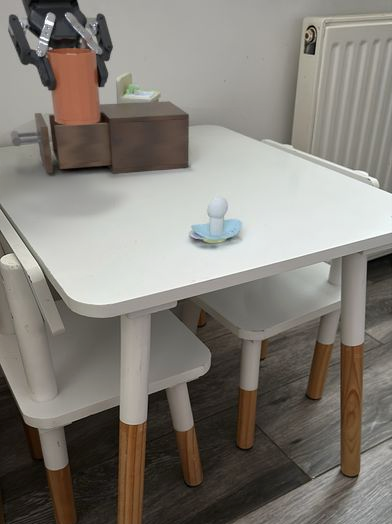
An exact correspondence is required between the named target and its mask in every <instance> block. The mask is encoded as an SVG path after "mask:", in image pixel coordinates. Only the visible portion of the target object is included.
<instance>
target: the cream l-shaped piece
mask: <svg viewBox="0 0 392 524" xmlns="http://www.w3.org/2000/svg"><path fill="white" fill-rule="evenodd" d="M115 89H116V91H115V92H116V104H121V103H143V102H160V101H159V100H160V98H161V95H162V94H161V93H162V92H160V91H157V90H153V89H152V90H151V89H150V90H143V89H141V88H140V85H139V84H133V76H132V73H131V72H124V73H123V74H120V75H119V76H117V77H116V79H115Z"/></svg>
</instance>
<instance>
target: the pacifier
mask: <svg viewBox="0 0 392 524" xmlns="http://www.w3.org/2000/svg"><path fill="white" fill-rule="evenodd" d="M207 205H208V206H207V208H206V214H207V216H208V217H209V222H208V223H201V224H191V226H190V227H191V230H190V231H189V232H188V236H190V238H193V239H196V240H202V241H203V242H205V243H209V244H219V243H222V242H225V241H227V239H229V238H232V237H235V236H236V235H237V234H239V233H240V232H241V230H242V227H243V222H242V221H241V219H237V218H229V219H225V215H226V214H227V213H228V209H229V204H228V200H227V199H226V198H225V197H223V196H217V197H215V198H213V199H212V200H211V201H210V202H209V204H207Z"/></svg>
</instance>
